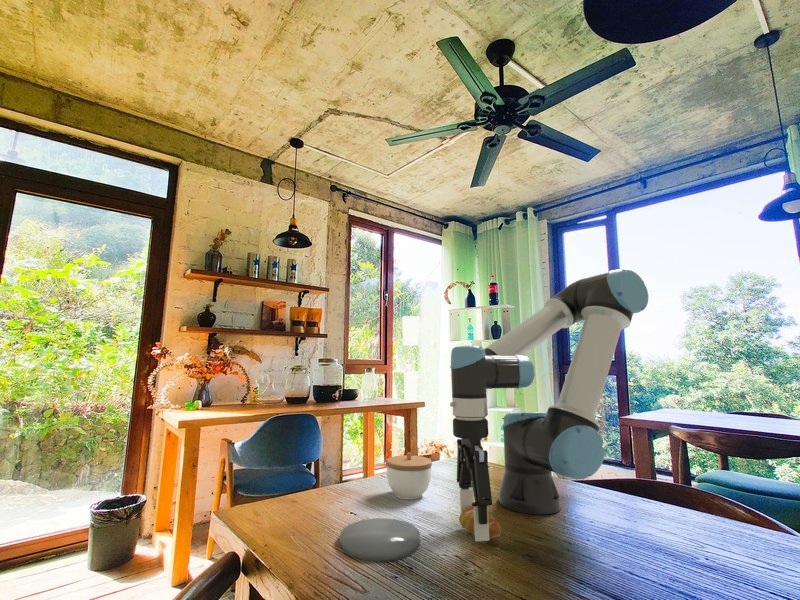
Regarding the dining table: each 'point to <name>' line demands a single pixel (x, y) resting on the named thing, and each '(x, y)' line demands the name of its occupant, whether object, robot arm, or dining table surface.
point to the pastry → (468, 522)
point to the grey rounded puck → (380, 539)
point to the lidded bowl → (408, 475)
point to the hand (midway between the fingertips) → (474, 529)
